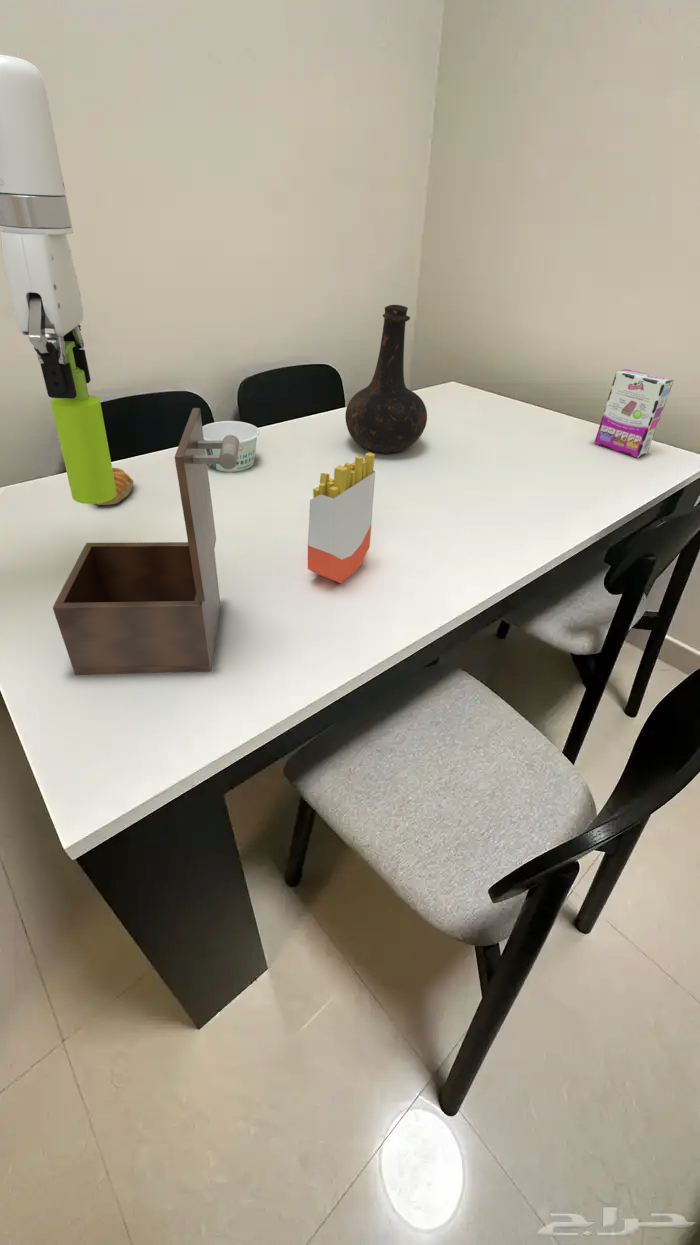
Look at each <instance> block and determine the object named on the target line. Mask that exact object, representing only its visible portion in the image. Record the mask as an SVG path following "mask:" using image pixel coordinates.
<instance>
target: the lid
mask: <svg viewBox="0 0 700 1245" xmlns="http://www.w3.org/2000/svg"><path fill="white" fill-rule="evenodd" d="M201 413H202V412H201V408H200V407H192V409H191V412H190V414H189V418H188V420H187V423H186V425H185V427H184V431H183V433H182V436H181V439H180V442H179V443H178V446H177V449H176V452H175V454H174V463H175V468H176V474H177V481H178V488H179V494H180V500H181V506H182V513H183V520H184V526H185V531H186V538H187V542H188V545H189V551H190V557H191V563H192V570H193V576H194V582H195V589H196V595H197V601H198V602H205V598H206V592H207V587H208V581H209V576H210V570H211V565H212V559H213V554H214V552H215V548H216V542H217V534H216V526H215V516H214V510H213V500H212V495H211V486H210V480H209V479H210V478H209V469H208V465H209V464H220V466H221V467H223V468H224V469H232V468H234V467H235V466H236V463H237V457H238V451H239V440H238V438H237V437H235V436H233V435H227V436H225V437H224V439H223V441H204V437H203V428H202V427H203V422H202V414H201ZM205 449H221V451H220V455H206V453H205Z"/></svg>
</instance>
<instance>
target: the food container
mask: <svg viewBox="0 0 700 1245" xmlns="http://www.w3.org/2000/svg"><path fill="white" fill-rule="evenodd" d="M202 428H203V437H204V441H223V439H224V437H225V436H227V435H233V436H235V437H237V438H238V440H239V451H238V457H237V463H236V466H235V467H234V468H232V469H224V468H223V467H221V466H220V464H208V465H209V467H210V468H212V469H213V470H215V471H219V472H227V473H228V472H229V473H232V472H241V471H246V470H247V469H250V468H252V467H253V466H254V464H255V457H256V449H257V440H258V436H259V435H260V429H259V428H258V427H257V426H256V425H254V424H251V423H250V422H249V423H248V422H244V421H238V420H222V421H214V422H211V423H207V424H205V425H202ZM220 451H221V449H205V453H206V455H220Z"/></svg>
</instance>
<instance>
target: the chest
mask: <svg viewBox="0 0 700 1245" xmlns="http://www.w3.org/2000/svg"><path fill="white" fill-rule="evenodd" d="M215 553H216V552H215V551H214V554H213V559H212V565H211V570H210V576H209V581H208V587H207V592H206V598H205V602H198V601H197V595H196V589H195V582H194V576H193V570H192V563H191V557H190V551H189V545H188V541H184V542H183V541H181V542H179V541H178V542H177V541H176V542H174V541H173V542H172V541H167V542H166V541H165V542H161V541H160V542H159V541H158V542H157V541H156V542H155V541H154V542H152V541H151V542H145V541H144V542H139V541H138V542H86V543H85V545H84V546H83V548H82V550H81V552H80V554H79V556H78V558H77V560H76V561H75V563H74V565H73V567H72V569H71V571H70V573H69V575H68V577H67V579H66V581H65V582H64V585H63V586H62V588H61V590H60V592H59V594H58V596H57V598H56V600H55V602H54V604H53V606H52V611H53V613H54V616H55V619H56V622H57V625H58V628H59V631H60V634H61V636H62V640H63V644H64V646H65V650H66V652H67V655H68V658H69V662H70V664H71V666H72V671H73V673H74V675H107V674H109V675H110V674H111V675H113V674H145V673H147V674H148V673H185V672H211V671H212V664H213V658H214V650H215V645H216V639H217V638H216V636H217V629H218V624H219V615H220V610H221V598H220V596H221V595H220V586H219V579H218V571H217V569H218V568H217V561H216V554H215Z"/></svg>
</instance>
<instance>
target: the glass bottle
mask: <svg viewBox="0 0 700 1245" xmlns="http://www.w3.org/2000/svg"><path fill="white" fill-rule="evenodd" d="M408 310H409V308H408V307H407V306H405V305H401V304H389V305H386V306H385V307H384V313H383V314H382V318H383V326H382V335H381V339H380V347H379V352H378V357H377V361H376V365H375V370H374V373H373V376H372V379H371V380H370V382H369V385H368V386H366V387H364V388H362V389H361V390H359V391H357V392H356V393H355V394H354V395H353V396H351V398H350V399H349V401H348V403H347V405H346V408H345V425H346V428H347V431H348V433H349V436H351V438H352V439H353V441H354V442H355V443H356V444H357V445H358V446H360V447H362V448H363V449H365V450H368V451H369V452H376V453H383V454H384V453H385V454H386V453H388V454H391V453H398V452H402V451H404V450H406V449H408V448H409V447H411V446H412V445H413V444H415V443H417V441H418V440H419V439H420V438H421V437H422V434H423V433H424V431H425V428H426V425H427V422H428V412H427V407H426V405H425V403H424V401H423V399H422V398H421V396H419V395H418V394H417V393H416V392H414V391H413V390H411V389H408V388H407V386H406V383H405V382H406V381H405V374H404V373H405V372H404V371H405V369H404V368H405V366H404V364H405V363H404V359H405V338H406V322H409V320H410V319H411V317H410V316H409V315H407V314H408V313H407V312H408Z"/></svg>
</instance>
